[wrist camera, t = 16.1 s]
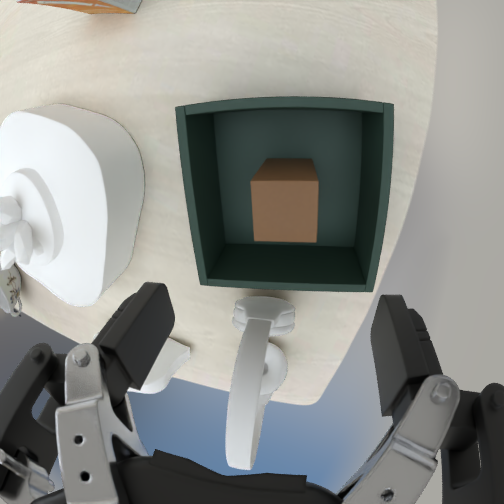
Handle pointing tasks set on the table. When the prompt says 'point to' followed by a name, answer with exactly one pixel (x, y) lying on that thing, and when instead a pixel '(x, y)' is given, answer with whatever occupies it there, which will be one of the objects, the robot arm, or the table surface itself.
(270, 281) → the bin
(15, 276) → the teacup
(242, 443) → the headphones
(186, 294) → the table surface
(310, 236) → the carton
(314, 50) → the table surface
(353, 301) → the table surface
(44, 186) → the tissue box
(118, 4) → the small box
